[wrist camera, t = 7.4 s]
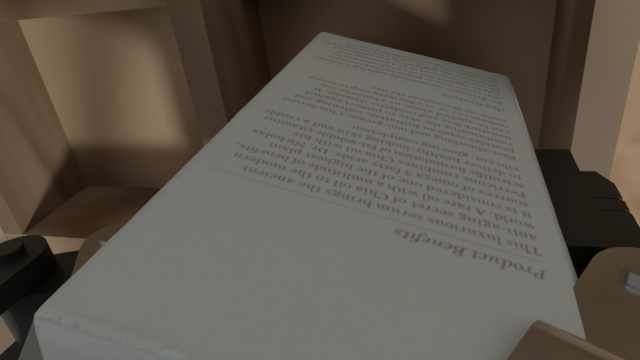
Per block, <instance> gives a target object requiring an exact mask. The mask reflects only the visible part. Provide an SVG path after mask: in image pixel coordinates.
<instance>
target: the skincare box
mask: <svg viewBox="0 0 640 360" xmlns="http://www.w3.org/2000/svg"><path fill="white" fill-rule="evenodd" d="M561 232H562V231H561V229H560V227H559V224H558V221H557V217H556V214H555V210H554V207H553V205H552V202H551V199H550V196H549V193H548V190H547V187H546V184H545V181H544V178H543V175H542V172H541V169H540V166H539V164H538V161H537V158H536V154H535V151H534V148H533V145H532V143H531V140H530V137H529V134H528V131H527V128H526V125H525V122H524V119H523V116H522V113H521V110H520V108H519V104H518V102H517V99H516V96H515V93H514V90H513V87H512V84H511V82H510V79H509V78H508V77H507V76H505V75H501V74H497V73H492V72H488V71H484V70H480V69H476V68H472V67H468V66H463V65H459V64H455V63H451V62H447V61H443V60H439V59H435V58H430V57H426V56H423V55H419V54H414V53H410V52H405V51H401V50H397V49H393V48H389V47H385V46H381V45H376V44H372V43H368V42H363V41H359V40H355V39H351V38H347V37H343V36H339V35H335V34H331V33H327V32H320V33H319V34H318V35H317V36H316V37H315V38H314V39H313V40H312V41H311V42H310V43H309V44H308V45H307V46H306V47H305V48H304V49H303V50H302V51H301V52H300V53H299V54H298V55H296V57H295V58H294V59H293V60H292V61H291V62H290V63H289V64H288V65H287V66H286V67H285V68H284V69H283V70H282V71H281V72H279V73H278V74H277V75H276V76H275V77H274V78H273V79H272V80H271V81H270V82H269V83H268V84H267V85H266V86H265V87H264V88H263V89H262V90H261V91H260V92H259V93H258V94H257V95H256V96H255V97H254V98H253V99H252V100H251V101H250V102H249V103H248V104H247V105H246V106H245V107H244V108H243V109H241V110H240V111H239V112H238V113H237V114H236V115H235V116H234V117H233V119H232V120H231V121H230V122H229V123H228V124H227V125H226V126H225V127H224V128H223V129H222V130H221V131H220V132H218V133H217V134H216V135H215V136H214V137H213V138H212V139H211V140H210V142H209V143H208V144H206V145H205V146H204V147H203V148H202V149H201V150H200V151H199V152H198V153H197V154H196V155H195V156H194V157H193V158H192V159H191V160H190V161H189V162H188V163H187V164H186V165H185V166H184V167H183V168H182V169H181V170H180V171H179V172H178V173H177V174H176V175H175V176H174V177H173V178H172V179H171V180H170V181H169V182H168V183H167V184H166V185H165V186H164V187H163V188H162V189H161V190H160V191H159V192H158V193H157V194H156V195H154V196H153V197H152V198H151V199H150V200H149V201H148V202H147V203H146V204H145V205H144V206H143V207H142V208H141V209H140V210H139V211H138V212H137V213H136V215H135V216H134V217H133V218H132V219H131V220H130V221H129V222H128V223H127V224H126V225H125V226H124V227H122V228H121V229H120V230H119V231H118V232H117V233H116V234H115V235H114V236H113V237H111V238H110V239H109V240H108V241H107V242H106V243H105V244H104V245H103V246H102V247H101V248H100V249H99V250H98V251H97V252H96V253H95V254H94V255H93V256H92V257H91V258H90V259H89V260H88V261H87V262H86V263H85V264H84V265H83V266H82V267H81V268H80V269H79V270H78V271H77V272H76V273H75V274H74V275H73V276H72V277H71V278H70V279H69V280H68V281H67V282H66V283H65V284H63V285H62V286H61V287H60V288H59V289H58V290H57V291H56V292H55V293H54V294H53V295H52V296H51V297H50V298H49V299H48V300H47V301H46V302H45V303H44V304H43V305H42V306H41V307H40V308H39V309H38V311H37V312H36V313H35V315H34V320H33V321H34V326H35V331H36V335H37V339H38V343H39V346H40V350H41V353H42V357H43V360H507V359H508V357H509V356H510V355H511V353H512V352H513V350H514V349H515V348H516V346H517V345H518V343H519V342H520V340H521V339H522V338H523V336H524V335H525V333H526V332H527V331H528V329H529V328H530V326H531V325H532V324H533V323H534V322H535V321H536V320H538V319H541V320H543V321H545V322H547V323H550V324H552V325H554V326H556V327H558V328H561V329H563V330H565V331H567V332H569V333H572V334H574V335H576V336H578V337H580V338H583V339H585V333H584V329H583V325H582V321H581V317H580V313H579V310H578V306H577V302H576V298H575V294H574V290H573V287H574V285H575V284H576V282H577V281H578V278H577V275H576V272H575V269H574V266H573V264H572V261H571V258H570V255H569V252H568V249H567V246H566V243H565V240H564V238H563V235H562V233H561Z"/></svg>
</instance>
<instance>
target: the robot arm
mask: <svg viewBox="0 0 640 360" xmlns="http://www.w3.org/2000/svg"><path fill="white" fill-rule="evenodd" d="M534 151H535V154H536V158H537V161H538V164H539V166H540V169H541V172H542V175H543V178H544V181H545V184H546V187H547V190H548V193H549V196H550V199H551V202H552V205H553V207H554V210H555V214H556V217H557V221H558V224H559V227H560V229H561V231H562V232H561V233H562V235H563V238H564V240H565V243H566V246H567V249H568V252H569V255H570V258H571V261H572V264H573V266H574V269H575V272H576V275H577V278H578V281H577V282H576V284H575V285H574V287H573V290H574V294H575V298H576V302H577V306H578V310H579V313H580V317H581V321H582V325H583V329H584V333H585V339H583V338H580V337H578V336H576V335H574V334H572V333H569V332H567V331H565V330H563V329H561V328H558V327H556V326H554V325H552V324H550V323H547V322H545V321H543V320H541V319H538V320H536V321H535V322H534V323H533V324H532V325H531V326H530V328H529V329H528V331H527V332H526V333H525V335H524V336H523V338H522V339H521V340H520V342H519V343H518V345H517V346H516V348H515V349H514V350H513V352H512V353H511V355H510V356H509V357H508V359H507V360H640V227H639V225H638V224H637V222H636V220H635V219H634V217H633V215H632V213H630V212H629V211H630V210H629V208H628V207H627V205H626V203H625V201H622V199H623V198H622V196H621V195H620V193H619V191H618V189H617V188H616V186H615V184H614V183H612V182H611V181H609V180H608V179H607V178H605V177H604V176H602V175H601V174H599V173H598V172H596V171H580V170H579V168H578V166H577V164H576V162H575V159H574V157H573V155H572V153H571V151H570V150H569V149H534ZM128 222H129V221H123V222H118V223H115V224H112V225H109V226H106V227H104V228H102V229H100V230H98V231H96V232H95V233H93V234H92V235H90V236H89V237H88V238H87V239H86V240H85V241H84V242H83V243H82V245H81V247H80V250H77V251H70V252H64V253H57V254H53V252H52V250H51V248H50V246H49V244H48V242H47V240H46V239H45V238H44V237H43V236H40V235H26V236H21V237H16V238H13V239H10V240H8V241H5V242H3V243H1V244H0V316H1V317H2V319H3V320H4V322H5V323H6V325H7V327H8V328H9V330H10V331H11V333H12V335H13V336H14V338H15V340H16V341H15V342H14V343H13V344H12V345H11V346H10V347H9V348H8V349H6V350H5V351H4V352H3V353H2V354H1V355H0V360H43V357H42V353H41V350H40V346H39V343H38V339H37V335H36V331H35V326H34V321H33V320H34V315H35V313H36V312H37V311H38V309H39V308H40V307H41V306H42V305H43V304H44V303H45V302H46V301H47V300H48V299H49V298H50V297H51V296H52V295H53V294H54V293H55V292H56V291H57V290H58V289H59V288H60V287H61V286H62V285H63V284H65V283H66V282H67V281H68V280H69V279H70V278H71V277H72V276H73V275H74V274H75V273H76V272H77V271H78V270H79V269H80V268H81V267H82V266H83V265H84V264H85V263H86V262H87V261H88V260H89V259H90V258H91V257H92V256H93V255H94V254H95V253H96V252H97V251H98V250H99V249H100V248H101V247H102V246H103V245H104V244H105V243H106V242H107V241H108V240H109V239H110V238H111V237H113V236H114V235H115V234H116V233H117V232H118V231H119V230H120V229H121V228H122V227H124V226H125V225H126V224H127V223H128Z"/></svg>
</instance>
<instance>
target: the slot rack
mask: <svg viewBox="0 0 640 360" xmlns="http://www.w3.org/2000/svg"><path fill="white" fill-rule="evenodd" d="M320 32H327V33H331V34H335V35H339V36H343V37H347V38H351V39H355V40H359V41H363V42H368V43H372V44H376V45H381V46H385V47H389V48H393V49H397V50H401V51H405V52H410V53H414V54H419V55H423V56H426V57H430V58H435V59H439V60H443V61H447V62H451V63H455V64H459V65H463V66H468V67H472V68H476V69H480V70H484V71H488V72H492V73H497V74H501V75H505V76H507V77H508V78H509V79H510V82H511V84H512V87H513V90H514V93H515V96H516V99H517V102H518V104H519V108H520V110H521V113H522V116H523V119H524V122H525V125H526V128H527V131H528V134H529V137H530V140H531V143H532V145H533V148H534V149H569V150H570V151H571V153H572V155H573V157H574V159H575V162H576V164H577V166H578V168H579V170H580V171H596V172H598V173H599V174H601V175H602V176H604V177H605V178H607V179H608V180H609V176H610V172H611V167H612V162H613V158H614V153H615V149H616V144H617V139H618V135H619V130H620V125H621V121H622V116H623V112H624V107H625V102H626V98H627V93H628V89H629V84H630V79H631V75H632V70H633V65H634V61H635V56H636V52H637V47H638V42H639V38H640V0H0V227H1V229H2V230H3V232H4V234H5V235H6V238H7V239H8V240H10V239H13V238H16V237H21V236H26V235H40V236H43V237H44V238H45V239H46V240H47V242H48V244H49V246H50V248H51V250H52V252H53V254H57V253H64V252H70V251H77V250H80V247H81V245H82V243H83V242H84V241H85V240H86V239H87V238H88V237H89V236H90V235H92V234H93V233H95V232H96V231H98V230H100V229H102V228H104V227H106V226H109V225H112V224H115V223H118V222H123V221H130V220H131V219H132V218H133V217H134V216H135V215H136V213H137V212H138V211H139V210H140V209H141V208H142V207H143V206H144V205H145V204H146V203H147V202H148V201H149V200H150V199H151V198H152V197H153V196H154V195H156V194H157V193H158V192H159V191H160V190H161V189H162V188H163V187H164V186H165V185H166V184H167V183H168V182H169V181H170V180H171V179H172V178H173V177H174V176H175V175H176V174H177V173H178V172H179V171H180V170H181V169H182V168H183V167H184V166H185V165H186V164H187V163H188V162H189V161H190V160H191V159H192V158H193V157H194V156H195V155H196V154H197V153H198V152H199V151H200V150H201V149H202V148H203V147H204V146H205V145H206V144H208V143H209V142H210V140H211V139H212V138H213V137H214V136H215V135H216V134H217V133H218V132H220V131H221V130H222V129H223V128H224V127H225V126H226V125H227V124H228V123H229V122H230V121H231V120H232V119H233V117H234V116H235V115H236V114H237V113H238V112H239V111H240V110H241V109H243V108H244V107H245V106H246V105H247V104H248V103H249V102H250V101H251V100H252V99H253V98H254V97H255V96H256V95H257V94H258V93H259V92H260V91H261V90H262V89H263V88H264V87H265V86H266V85H267V84H268V83H269V82H270V81H271V80H272V79H273V78H274V77H275V76H276V75H277V74H278V73H279V72H281V71H282V70H283V69H284V68H285V67H286V66H287V65H288V64H289V63H290V62H291V61H292V60H293V59H294V58H295V57H296V55H298V54H299V53H300V52H301V51H302V50H303V49H304V48H305V47H306V46H307V45H308V44H309V43H310V42H311V41H312V40H313V39H314V38H315V37H316V36H317V35H318V34H319V33H320Z"/></svg>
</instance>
